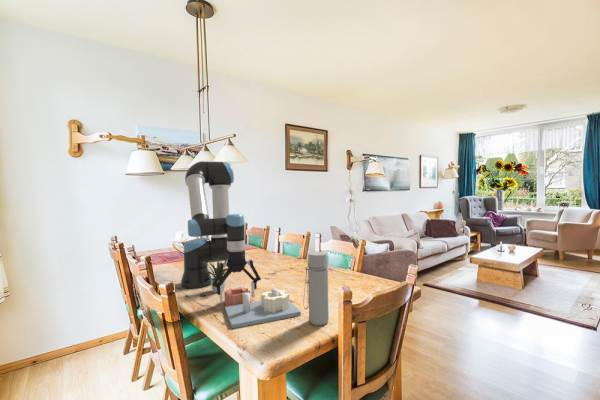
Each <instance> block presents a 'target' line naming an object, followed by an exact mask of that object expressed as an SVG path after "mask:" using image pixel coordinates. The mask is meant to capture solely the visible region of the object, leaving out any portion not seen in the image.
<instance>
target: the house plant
mask: <svg viewBox="0 0 600 400" xmlns="http://www.w3.org/2000/svg"><path fill="white" fill-rule="evenodd" d="M210 261H211V260H210ZM221 262H222V263H227V260H226V261H223V260H222V261H219V258H218V262H217V263H216V267H215V264H214V263H215V262H210V263H209V266H208V269H209V270H211V271H207V272H206V273H208V274H210V275H212V277H211V284H210V285H211V289H212V293H214V294H217V287H213V285H212V283H213V281H214V279H215V276H216V274H217V272H218V270H219V267H220V263H221ZM204 263H205V262H204ZM227 270H228V267H227V268H223V271H222V273H221V275H220V277H219V280H218V282H219V281H220V279H221V278H222V277H223V275H224V274H225V273H226V271H227ZM218 282H217V283H218ZM221 286H222V293H224V291H225V286H226V280H225V281H224V282H223V284H222V285H221Z"/></svg>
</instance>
